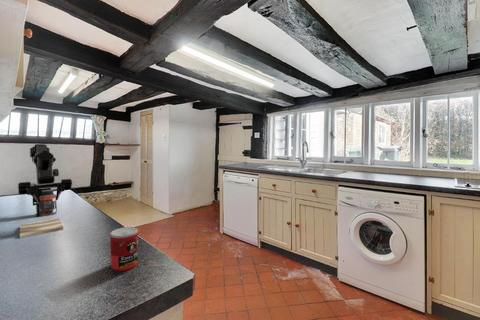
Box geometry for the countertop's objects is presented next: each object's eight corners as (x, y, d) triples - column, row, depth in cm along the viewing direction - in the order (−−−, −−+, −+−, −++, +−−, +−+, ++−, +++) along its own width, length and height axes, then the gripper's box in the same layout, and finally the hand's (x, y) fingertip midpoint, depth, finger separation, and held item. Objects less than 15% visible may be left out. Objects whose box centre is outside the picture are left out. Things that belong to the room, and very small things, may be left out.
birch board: (20, 227, 103) (20, 224, 103) (58, 220, 113) (58, 218, 113) (19, 238, 90) (19, 235, 90) (63, 229, 100) (63, 227, 100)
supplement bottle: (59, 213, 102) (58, 189, 101) (43, 217, 97) (42, 192, 96) (52, 212, 105) (51, 188, 104) (37, 215, 99) (35, 190, 99)
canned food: (120, 274, 64) (119, 237, 63) (105, 267, 68) (104, 232, 68) (143, 263, 70) (143, 229, 70) (129, 257, 75) (128, 225, 74)
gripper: (17, 164, 96) (18, 193, 88) (70, 162, 109) (75, 187, 102) (18, 180, 101) (19, 208, 94) (68, 176, 115) (73, 201, 108)
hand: (48, 200), depth 99 cm, fingers closed on supplement bottle, 6 cm apart
